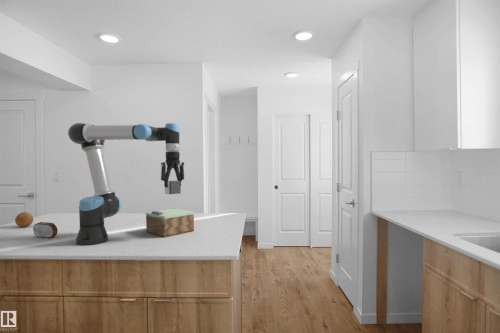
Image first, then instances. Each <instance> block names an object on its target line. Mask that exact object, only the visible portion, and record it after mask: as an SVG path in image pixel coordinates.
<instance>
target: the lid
mask: <svg viewBox="0 0 500 333" xmlns="http://www.w3.org/2000/svg"><path fill="white" fill-rule="evenodd" d="M192 214H193V215H194V214H195V211H191V210H185V209H182V208H181V209H179V208H169V209H168V208H167V209H162V210H155V211H154V210H153V211H148V212H145V216H146V215H148V216H153V217H157V218H162V219H168V218H174V217H180V216H186V215H192Z"/></svg>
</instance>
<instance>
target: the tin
mask: <svg viewBox="0 0 500 333" xmlns="http://www.w3.org/2000/svg"><path fill="white" fill-rule="evenodd" d="M32 228H33V233H34V234H33V235H35V237H37V238H41V239H51V238H55V237H56V236H57V235H58V227H57V226H56V224H55V223H54V222H43V221H40V222H37V223H35V224H34V225H33V227H32Z"/></svg>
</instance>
